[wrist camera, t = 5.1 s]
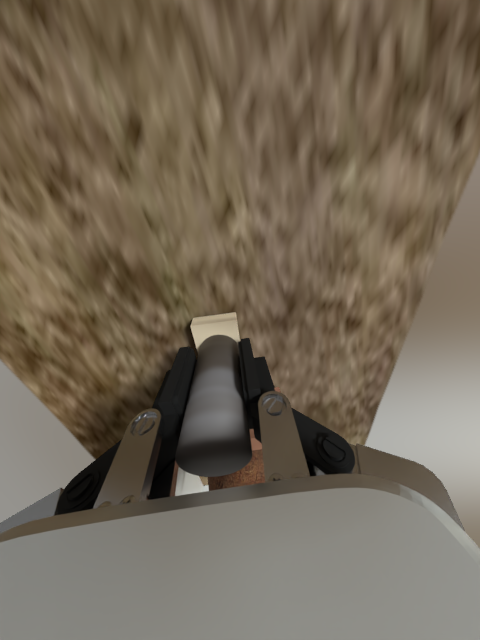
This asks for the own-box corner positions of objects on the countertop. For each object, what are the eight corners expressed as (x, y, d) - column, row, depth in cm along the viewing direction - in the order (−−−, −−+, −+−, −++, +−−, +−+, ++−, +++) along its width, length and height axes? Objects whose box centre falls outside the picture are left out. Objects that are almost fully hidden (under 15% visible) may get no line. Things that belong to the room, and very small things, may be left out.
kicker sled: (150, 323, 12) (53, 440, 5) (278, 306, 12) (345, 397, 5) (185, 412, 16) (157, 539, 10) (279, 398, 16) (316, 514, 10)
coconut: (200, 419, 18) (183, 546, 10) (236, 393, 16) (245, 517, 9) (235, 439, 19) (241, 557, 12) (270, 417, 18) (299, 534, 11)
